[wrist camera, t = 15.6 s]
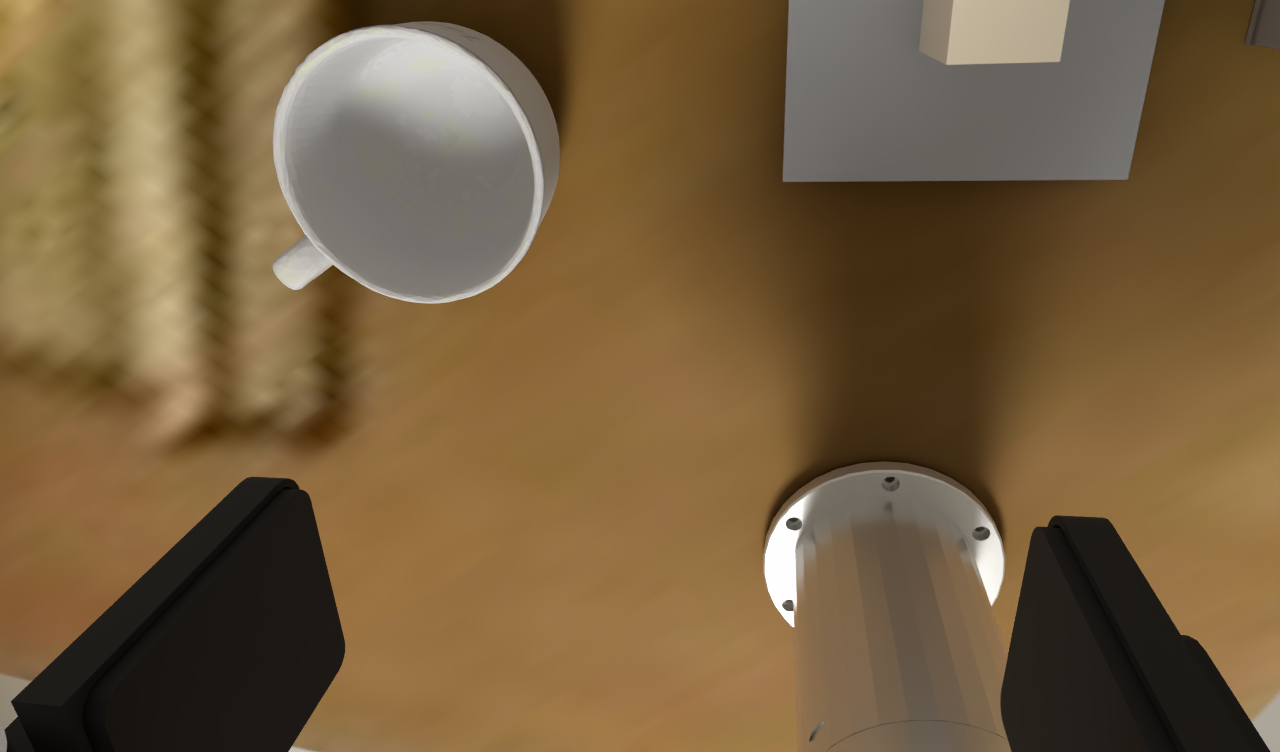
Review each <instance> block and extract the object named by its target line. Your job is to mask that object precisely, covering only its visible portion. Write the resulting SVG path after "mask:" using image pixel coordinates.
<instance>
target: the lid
mask: <svg viewBox="0 0 1280 752" xmlns="http://www.w3.org/2000/svg"><path fill="white" fill-rule="evenodd" d="M1164 3H1165V0H789V2H788V32H787V61H786V90H785V119H784V149H783V182H850V181H1004V180H1128V176H1129V171H1130V166H1131V162H1132V157H1133V152H1134V147H1135V142H1136V137H1137V133H1138V128H1139V123H1140V118H1141V113H1142V109H1143V104H1144V99H1145V94H1146V89H1147V84H1148V80H1149V75H1150V70H1151V65H1152V60H1153V56H1154V51H1155V46H1156V41H1157V36H1158V32H1159V27H1160V22H1161V17H1162V12H1163V7H1164Z"/></svg>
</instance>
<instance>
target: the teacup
mask: <svg viewBox="0 0 1280 752" xmlns="http://www.w3.org/2000/svg"><path fill="white" fill-rule="evenodd" d="M273 155H274V165H275V167H276V172H277V177H278V181H279V184H280V187H281V190H282V192H283V195H284V197H285V199H286V201H287V203H288V206H289V207H290V209H291V211H292V213H293V215H294V217H295V219H296V220H297V222H298V224H299V225H300V227H301V228H302V230H303V232H304V233H305V234H306V235H304V236H303V237H302V238H301V239H300V240H298V241H297V242H296V243H295V244H293V245H292V246H291V247H290V248H289V249H288V250H286V251H285V252H284V253H282V254H281V255H280V256H279V257H278V258H277V259H276V260H275V261H274V263H273V271H274V273H275V274H276V276H277V277H278V278H279V279H280V280H281V281H282V282H283V284H284V285H286V286H287V287H289V288H291V289H293V290H299V289H301V288H303V287H304V286H306V285H307V284H308V283H309V282H311V281H312V280H313V279H315V278H316V277H318V276H319V275H320V274H322V273H323V272H324V271H325V270H327V269H328V268H329V267H330V266H332V265H334V266H336V267H337V268H338V269H340V270H341V271H342V272H343V273H345V274H346V275H348V276H350V277H351V278H353V279H355V280H356V281H358V282H359V283H361V284H362V285H364V286H366V287H367V288H369V289H371V290H373V291H376V292H378V293H381V294H383V295H386V296H389V297H392V298H396V299H400V300H404V301H408V302H416V303H445V302H452V301H455V300H459V299H463V298H467V297H470V296H474V295H476V294H479V293H481V292H483V291H485V290H487V289H489V288H491V287H492V286H494V285H495V284H497V283H499V282H500V281H501V280H502V279H503V278H504V277H506V276H507V275H508V274H509V273H510V272H511V271H512V270H513V269H514V268H515V267H516V265H517V264H518V263H519V262H520V261H521V259H522V258H523V257H524V255H525V254H526V252H527V250H528V249H529V247H530V245H531V244H532V241H533V239H534V237H535V234H536V232H537V229H538V227H539V225H540V223H541V221H542V220H543V218H544V216H545V214H546V212H547V210H548V208H549V205H550V203H551V200H552V198H553V194H554V191H555V188H556V185H557V181H558V175H559V167H560V143H559V135H558V130H557V125H556V121H555V118H554V114H553V112H552V109H551V106H550V104H549V101H548V99H547V97H546V95H545V93H544V91H543V89H542V88H541V86H540V85H539V83H538V81H537V80H536V79H535V77H534V76H533V75H532V73H531V72H530V71H529V69H528V68H527V67H526V66H525V65H524V64H523V63H522V62H521V61H520V60H519V59H518V58H517V57H516V56H515V55H514V54H513V53H512V52H510V51H509V50H508V49H506V48H505V47H504V46H502V45H501V44H499V43H498V42H496V41H495V40H493V39H491V38H490V37H488V36H486V35H484V34H482V33H479V32H477V31H475V30H472V29H469V28H466V27H463V26H460V25H456V24H451V23H444V22H429V21H424V22H409V23H401V24H395V25H376V26H369V27H363V28H357V29H354V30H351V31H349V32H346V33H343V34H341V35H338V36H336V37H333V38H331V39H329V40H328V41H327V42H326V43H324V44H322V45H320V46H319V47H318V48H317V49H315V50H314V51H313V52H312V53H310V54H309V55H308V56H306V58H305V59H304V61H303V62H302V63H301V64H300V65H299V66H298V67H297V68H296V71H295V73H294V74H293V76H292V77H291V79H290V80H289V82H288V83H287V85H286V86H285V88H284V91H283V94H282V96H281V98H280V101H279V103H278V107H277V110H276V114H275V119H274V133H273Z"/></svg>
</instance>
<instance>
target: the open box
mask: <svg viewBox="0 0 1280 752" xmlns="http://www.w3.org/2000/svg"><path fill="white" fill-rule="evenodd" d="M1245 44H1248V45H1255V46H1261V47H1268V48H1275V49H1280V0H1256V1H1255V5H1254V9H1253V13H1252V17H1251V21H1250V25H1249V29H1248V33H1247V37H1246V41H1245Z"/></svg>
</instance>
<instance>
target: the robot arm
mask: <svg viewBox="0 0 1280 752" xmlns="http://www.w3.org/2000/svg"><path fill="white" fill-rule="evenodd" d="M887 477H891V478H887ZM763 573H764V577H765V582H766V587H767V590H768V593H769V595H770V597H771V599H772V601H773V603H774V605H775V607H776V608H777V610H778V611H779V612H780V614H781V615H782V616H783V618H784V619H785V620H786V621H787V622H788V623H789V624H790V625H791V626H792V627H794V649H795V679H796V709H797V740H798V752H1270V750H1269V749H1268V747H1267V746H1266V744H1265V743H1264V741H1263V739H1262V738H1261V736H1260V735H1259V733H1258V732H1257V730H1256V729H1255V727H1254V725H1253V724H1252V722H1251V721H1250V719H1249V718H1248V716H1247V715H1246V713H1245V711H1244V710H1243V708H1242V707H1241V705H1240V704H1239V702H1238V701H1237V699H1236V697H1235V696H1234V694H1233V693H1232V691H1231V690H1230V688H1229V686H1228V685H1227V683H1226V682H1225V680H1224V679H1223V677H1222V676H1221V674H1220V672H1219V671H1218V669H1217V668H1216V666H1215V665H1214V663H1213V662H1212V660H1211V658H1210V657H1209V655H1208V654H1207V652H1206V651H1205V650H1204V648H1203V647H1202V646H1201V645H1200V644H1199V642H1198V641H1197V640H1195V639H1193V638H1191V637H1189V636H1186V635H1180V633H1179V631H1178V630H1177V628H1176V627H1175V625H1174V623H1173V622H1172V620H1171V619H1170V617H1169V615H1168V614H1167V612H1166V610H1165V609H1164V607H1163V606H1162V604H1161V602H1160V601H1159V599H1158V598H1157V596H1156V594H1155V593H1154V591H1153V589H1152V588H1151V586H1150V585H1149V583H1148V581H1147V580H1146V578H1145V577H1144V575H1143V573H1142V572H1141V570H1140V569H1139V567H1138V565H1137V564H1136V562H1135V560H1134V559H1133V557H1132V556H1131V554H1130V552H1129V551H1128V549H1127V548H1126V546H1125V544H1124V543H1123V541H1122V539H1121V538H1120V536H1119V535H1118V533H1117V531H1116V530H1115V528H1114V527H1113V525H1112V524H1111V522H1110V521H1109V520H1108V519H1105V518H1097V517H1076V516H1054V517H1052V519H1051V520H1050V522H1049V524H1048V527H1036V528H1035V529H1034V531H1033V533H1032V536H1031V541H1030V546H1029V551H1028V556H1027V561H1026V566H1025V571H1024V576H1023V582H1022V587H1021V592H1020V597H1019V602H1018V607H1017V612H1016V617H1015V622H1014V627H1013V632H1012V638H1011V643H1010V648H1009V653H1007V650H1006V647H1005V644H1004V641H1003V638H1002V635H1001V633H1000V630H999V627H998V624H997V621H996V618H995V615H994V612H993V610H992V606H993V604H994V602H995V600H996V599H997V597H998V595H999V593H1000V589H1001V586H1002V583H1003V580H1004V574H1005V554H1004V549H1003V544H1002V539H1001V537H1000V534H999V532H998V529H997V527H996V524H995V522H994V520H993V519H992V517H991V515H990V514H989V512H988V511H987V509H986V507H985V506H984V505H983V504H982V503H981V501H980V500H979V499H978V498H977V497H976V496H975V495H974V494H973V493H972V492H971V491H970V490H968V489H967V488H965V487H964V486H962V485H961V484H960V483H958V482H957V481H955V480H954V479H952V478H950V477H948V476H946V475H943V474H941V473H939V472H937V471H934V470H932V469H929V468H925V467H921V466H917V465H913V464H909V463H898V462H886V461H882V462H869V463H859V464H855V465H851V466H847V467H843V468H838V469H836V470H833V471H831V472H829V473H826V474H824V475H822V476H819V477H817V478H815V479H814V480H812V481H811V482H809V483H807V484H806V485H804V486H803V487H801V488H800V489H798V490H797V491H796V492H795V493H794V494H793V495H792V496H791V497H790V498H789V499H788V500H787V501H786V502H785V503H784V504H783V505H782V507H781V508H780V510H779V511H778V513H777V514H776V515H775V517H774V518H773V520H772V523H771V525H770V528H769V530H768V533H767V535H766V539H765V546H764V552H763ZM344 654H345V641H344V636H343V632H342V628H341V624H340V619H339V615H338V611H337V607H336V603H335V599H334V595H333V590H332V586H331V582H330V578H329V574H328V570H327V566H326V561H325V557H324V553H323V549H322V545H321V541H320V537H319V532H318V528H317V524H316V520H315V516H314V512H313V508H312V503H311V500H310V497H309V495H308V494H307V492H306V491H304V490H300V489H299V487H298V485H297V484H296V482H295V481H294V480H291V479H287V478H266V477H249V478H246V479H245V480H243V481H242V482H241V483H240V484H239V485H238V486H237V487H235V488H234V489H233V490H232V491H231V492H230V493H229V494H228V495H227V496H226V497H225V498H224V499H223V500H222V501H221V502H220V503H219V504H218V505H217V506H216V507H214V508H213V509H212V510H211V511H210V512H209V513H208V514H207V515H206V516H205V517H204V518H203V519H202V520H201V521H200V522H199V523H198V524H197V525H196V526H195V527H193V528H192V529H191V530H190V531H189V532H188V533H187V534H186V535H185V536H184V537H183V538H182V539H181V540H180V541H179V542H178V543H177V544H176V545H175V546H174V547H172V548H171V549H170V550H169V551H168V552H167V553H166V554H165V555H164V556H163V557H162V558H161V559H160V560H159V561H158V562H157V563H156V564H155V565H154V566H153V567H152V568H150V569H149V570H148V571H147V572H146V573H145V574H144V575H143V576H142V577H141V578H140V579H139V580H138V581H137V582H136V583H135V584H134V585H133V586H132V587H131V588H129V589H128V590H127V591H126V592H125V593H124V594H123V595H122V596H121V597H120V598H119V599H118V600H117V601H116V602H115V603H114V604H113V605H112V606H111V607H110V608H108V609H107V610H106V611H105V612H104V613H103V614H102V615H101V616H100V617H99V618H98V619H97V620H96V621H95V622H94V623H93V624H92V625H91V626H90V627H89V628H88V629H86V630H85V631H84V632H83V633H82V634H81V635H80V636H79V637H78V638H77V639H76V640H75V641H74V642H73V643H72V644H71V645H70V646H69V647H68V648H67V649H65V650H64V651H63V652H62V653H61V654H60V655H59V656H58V657H57V658H56V659H55V660H54V661H53V662H52V663H51V664H50V665H49V666H48V667H47V668H46V669H44V670H43V671H42V672H41V673H40V674H39V675H38V676H37V677H36V678H35V679H34V680H33V681H32V682H31V683H30V684H29V685H28V686H27V687H26V688H25V689H24V690H23V691H21V692H20V693H19V694H18V695H17V696H16V697H15V698H14V699H13V700H12V701H11V703H12V705H13V707H14V709H15V711H16V713H17V715H18V717H17V718H16V719H15V720H14V721H13V722H12V723H11V724H10V725H9V726H8V727H7V728H6V729H5V730H4V729H3V728H2V727H1V726H0V752H288V751H289V750H290V748H291V746H292V745H293V743H294V742H295V740H296V738H297V737H298V735H299V734H300V732H301V730H302V729H303V727H304V726H305V724H306V722H307V721H308V719H309V718H310V716H311V714H312V713H313V711H314V710H315V708H316V706H317V705H318V703H319V702H320V700H321V698H322V697H323V695H324V694H325V692H326V690H327V689H328V687H329V686H330V684H331V682H332V681H333V679H334V678H335V676H336V674H337V673H338V671H339V669H340V667H341V665H342V662H343V659H344Z"/></svg>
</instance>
